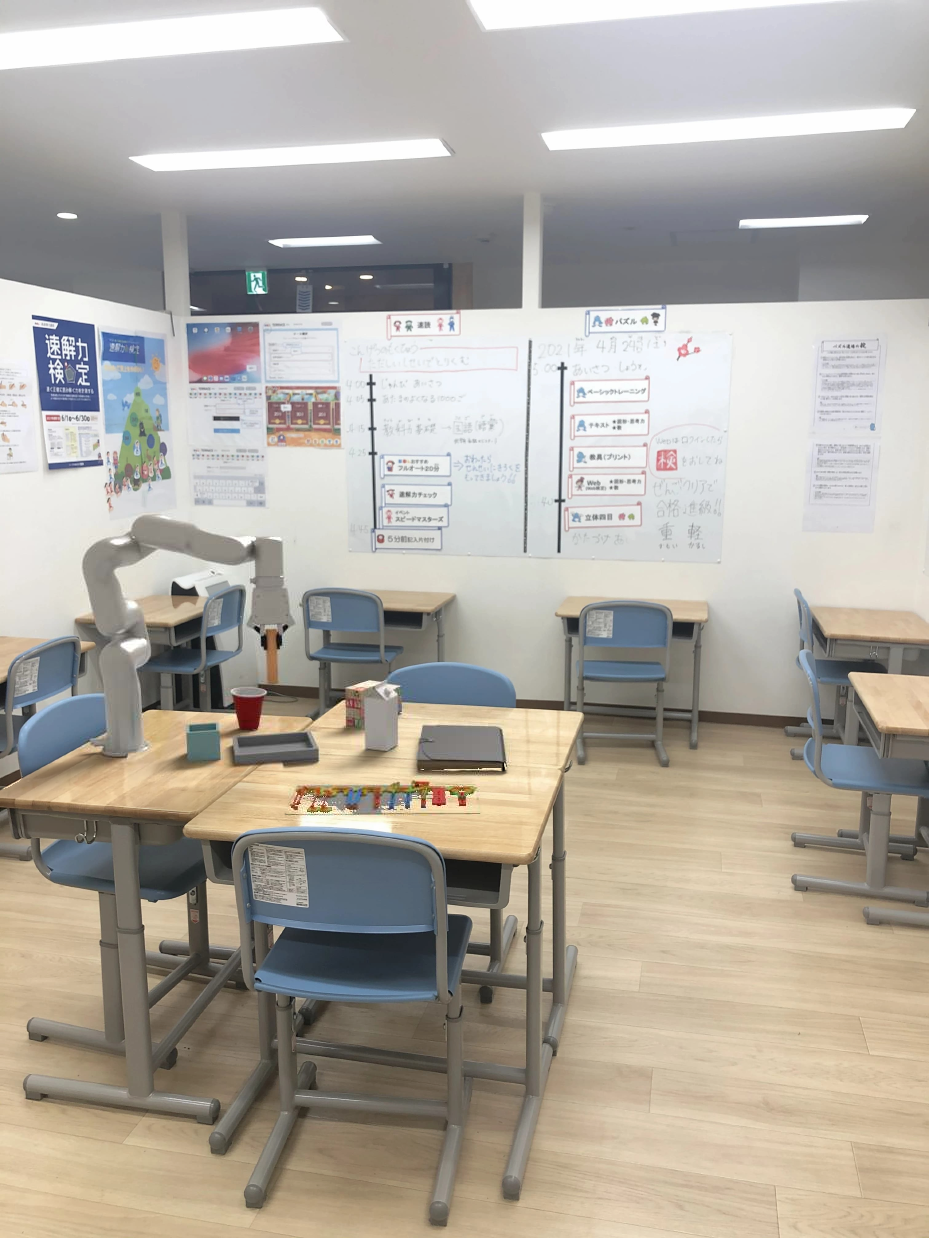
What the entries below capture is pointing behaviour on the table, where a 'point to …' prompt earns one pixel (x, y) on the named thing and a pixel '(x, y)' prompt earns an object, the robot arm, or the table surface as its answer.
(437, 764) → the file folder
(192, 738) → the light blue open box
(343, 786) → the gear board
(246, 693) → the plastic cup
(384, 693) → the milk carton
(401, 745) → the table surface
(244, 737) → the tray
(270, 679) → the dowel pin
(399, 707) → the stack of blocks
